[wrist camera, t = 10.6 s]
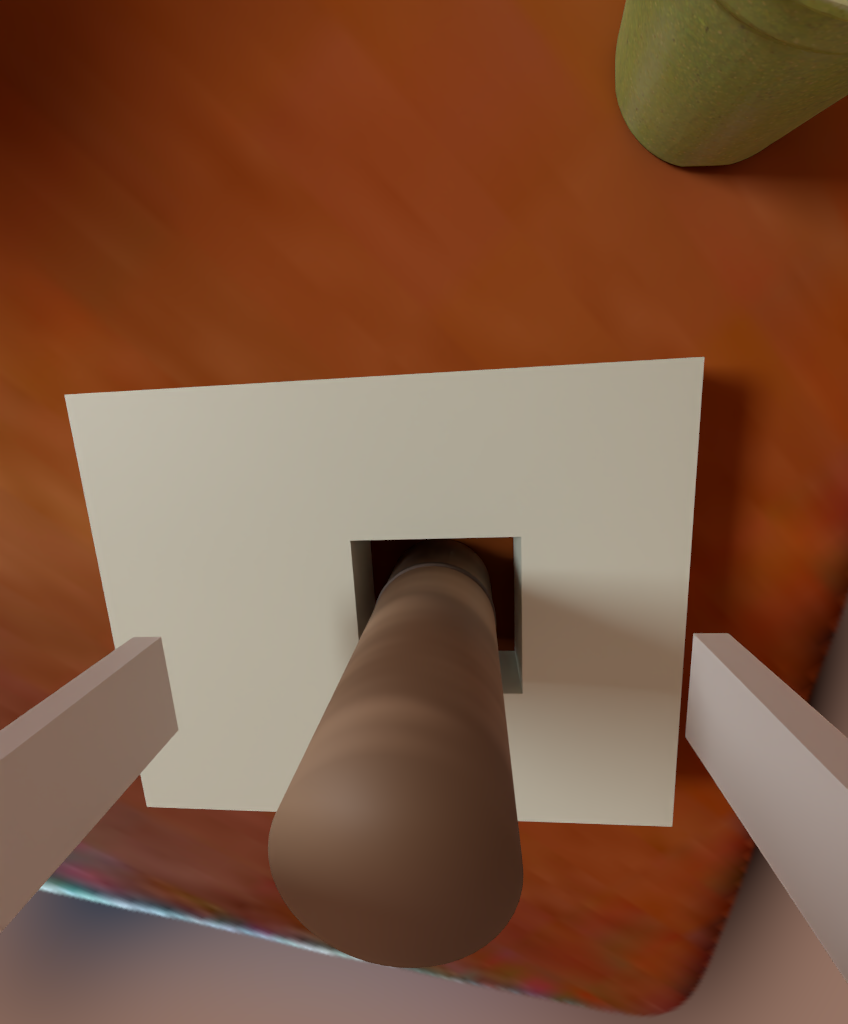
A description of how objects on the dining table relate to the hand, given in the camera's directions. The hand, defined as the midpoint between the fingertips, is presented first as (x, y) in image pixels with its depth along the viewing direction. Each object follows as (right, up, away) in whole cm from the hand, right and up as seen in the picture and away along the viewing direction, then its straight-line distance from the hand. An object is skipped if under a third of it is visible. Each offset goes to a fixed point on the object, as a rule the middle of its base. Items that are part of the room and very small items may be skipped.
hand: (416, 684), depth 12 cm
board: (-1, +1, +7) cm, 8 cm away
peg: (+1, +1, +7) cm, 7 cm away
